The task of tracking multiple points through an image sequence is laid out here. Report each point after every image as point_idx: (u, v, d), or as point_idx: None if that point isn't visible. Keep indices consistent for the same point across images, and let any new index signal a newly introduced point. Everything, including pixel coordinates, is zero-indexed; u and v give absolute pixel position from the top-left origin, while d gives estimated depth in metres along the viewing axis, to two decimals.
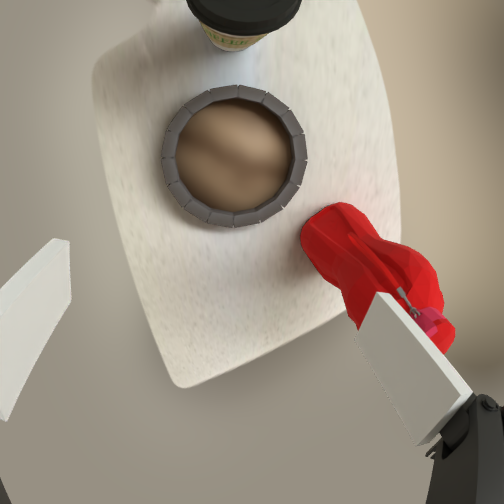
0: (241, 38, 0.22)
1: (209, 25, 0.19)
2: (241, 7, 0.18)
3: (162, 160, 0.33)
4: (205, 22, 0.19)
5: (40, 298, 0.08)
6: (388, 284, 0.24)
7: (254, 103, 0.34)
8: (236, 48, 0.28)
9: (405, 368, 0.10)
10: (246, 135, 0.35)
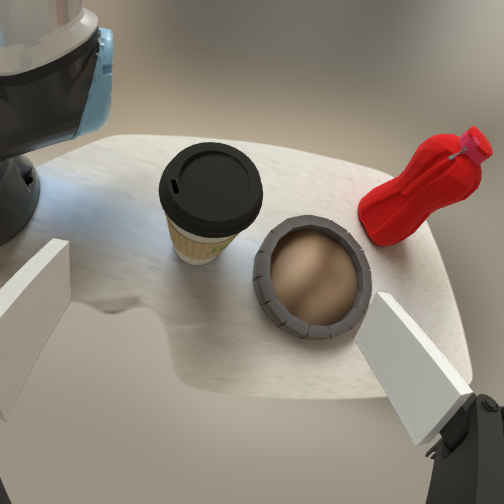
0: None
1: (245, 227, 0.27)
2: (242, 193, 0.27)
3: (309, 335, 0.37)
4: (241, 229, 0.27)
5: (40, 298, 0.08)
6: (444, 166, 0.31)
7: (274, 246, 0.42)
8: None
9: (405, 368, 0.10)
10: (300, 262, 0.42)
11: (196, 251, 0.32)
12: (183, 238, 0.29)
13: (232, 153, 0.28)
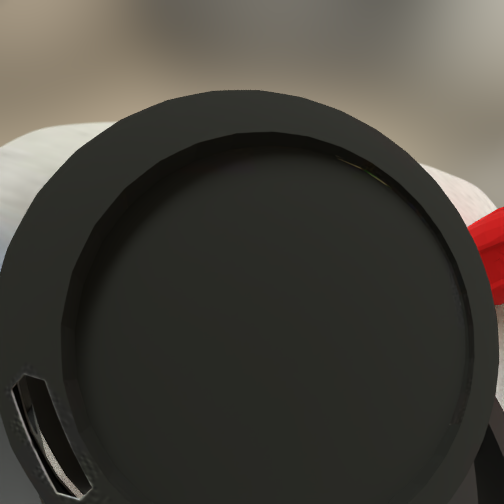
0: None
1: None
2: (450, 381, 0.04)
3: None
4: None
5: None
6: None
7: None
8: None
9: None
10: None
11: None
12: None
13: (375, 155, 0.05)
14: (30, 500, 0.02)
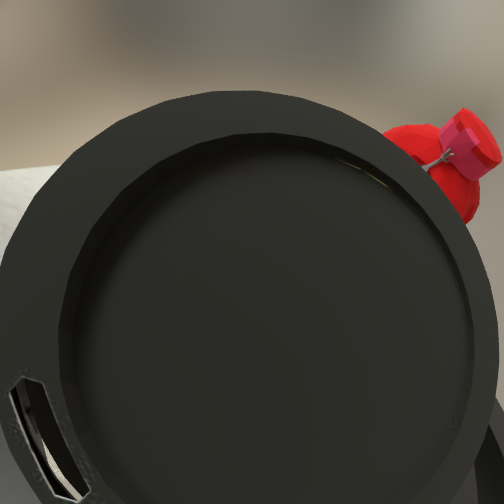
0: None
1: None
2: (450, 383, 0.04)
3: None
4: None
5: None
6: None
7: None
8: None
9: None
10: None
11: None
12: None
13: (375, 155, 0.05)
14: (30, 499, 0.02)
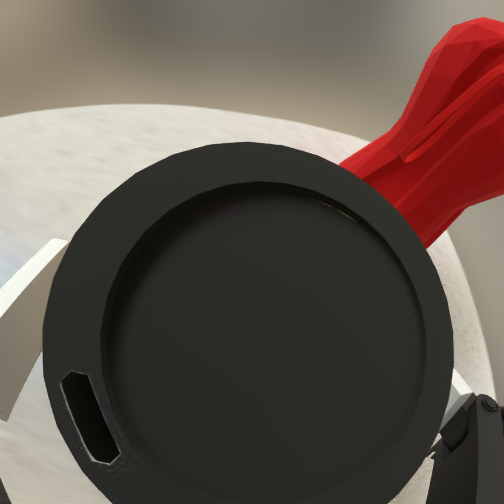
0: None
1: None
2: (404, 382, 0.05)
3: None
4: None
5: (40, 298, 0.08)
6: None
7: None
8: None
9: None
10: None
11: None
12: None
13: (344, 194, 0.07)
14: None
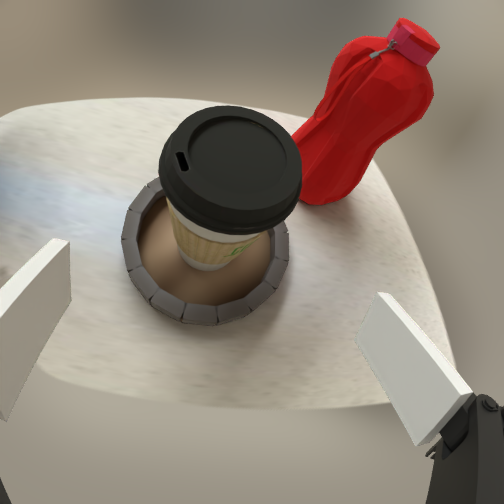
0: None
1: (283, 218, 0.19)
2: (278, 171, 0.19)
3: (185, 317, 0.27)
4: (278, 221, 0.19)
5: (40, 298, 0.08)
6: (366, 70, 0.21)
7: (154, 205, 0.32)
8: None
9: (405, 368, 0.10)
10: None
11: (210, 254, 0.24)
12: (193, 237, 0.21)
13: (259, 120, 0.20)
14: None
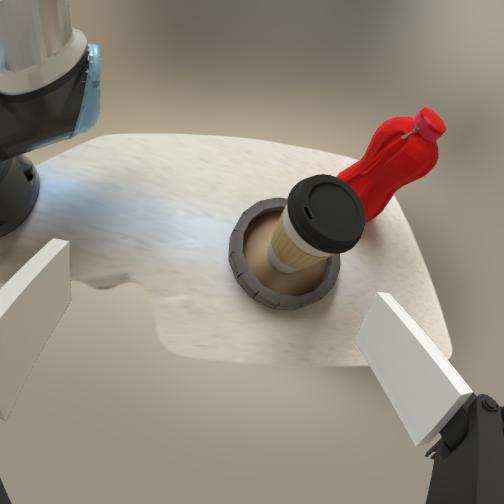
0: None
1: (355, 244, 0.34)
2: (353, 217, 0.34)
3: (280, 304, 0.42)
4: (353, 245, 0.34)
5: (40, 298, 0.08)
6: (398, 145, 0.36)
7: (247, 226, 0.46)
8: None
9: (405, 368, 0.10)
10: None
11: (305, 263, 0.39)
12: (302, 253, 0.36)
13: (340, 184, 0.35)
14: None
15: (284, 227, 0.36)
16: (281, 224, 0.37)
